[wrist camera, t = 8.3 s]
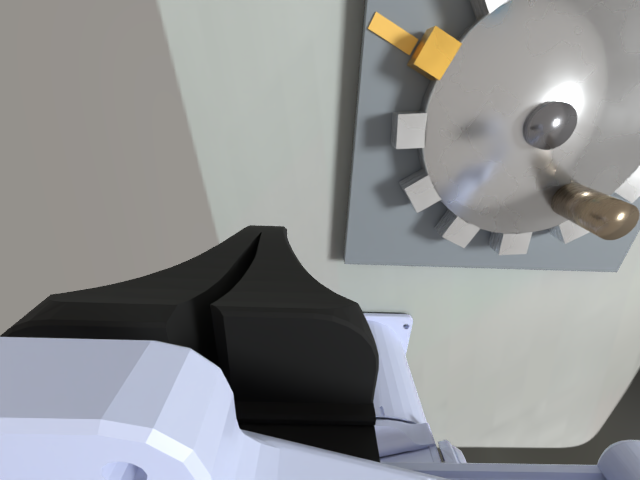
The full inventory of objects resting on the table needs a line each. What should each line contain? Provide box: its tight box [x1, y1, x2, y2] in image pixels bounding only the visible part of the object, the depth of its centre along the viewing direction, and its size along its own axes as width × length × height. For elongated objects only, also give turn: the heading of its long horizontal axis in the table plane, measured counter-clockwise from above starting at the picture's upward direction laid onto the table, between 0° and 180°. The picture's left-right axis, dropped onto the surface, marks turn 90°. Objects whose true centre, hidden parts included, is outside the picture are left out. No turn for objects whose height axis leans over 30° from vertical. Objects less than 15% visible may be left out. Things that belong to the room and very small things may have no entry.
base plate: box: [344, 0, 640, 272], centre depth 19 cm, size 20×20×1 cm
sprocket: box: [391, 0, 640, 255], centre depth 16 cm, size 16×16×5 cm
